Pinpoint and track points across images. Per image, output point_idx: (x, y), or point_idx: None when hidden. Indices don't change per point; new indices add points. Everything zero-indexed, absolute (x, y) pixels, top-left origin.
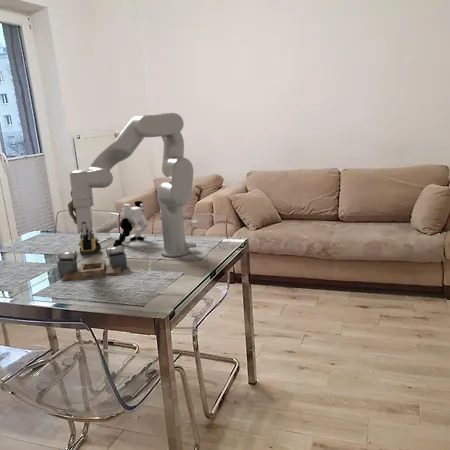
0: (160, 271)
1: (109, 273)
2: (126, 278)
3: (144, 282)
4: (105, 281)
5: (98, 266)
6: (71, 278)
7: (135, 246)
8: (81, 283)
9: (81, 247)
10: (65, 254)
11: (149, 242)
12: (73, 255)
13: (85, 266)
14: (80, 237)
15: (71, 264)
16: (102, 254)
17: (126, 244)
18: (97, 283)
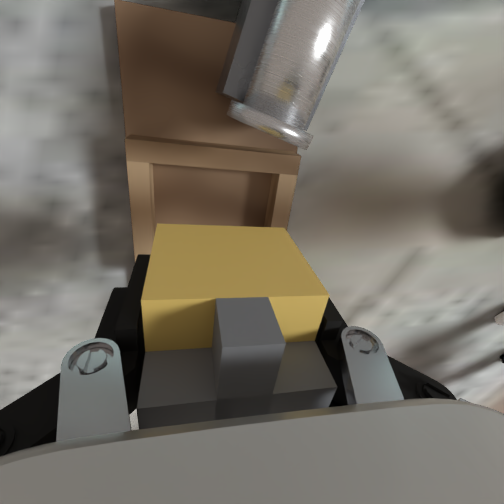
0: (133, 422)
1: None
2: (80, 341)
3: (14, 395)
4: (54, 267)
5: None
6: (121, 77)
7: (459, 342)
8: (41, 145)
9: (153, 248)
10: (287, 26)
11: (463, 374)
12: (241, 120)
13: (275, 174)
14: (217, 317)
15: (221, 87)
16: (468, 237)
17: (499, 320)
18: (27, 232)
